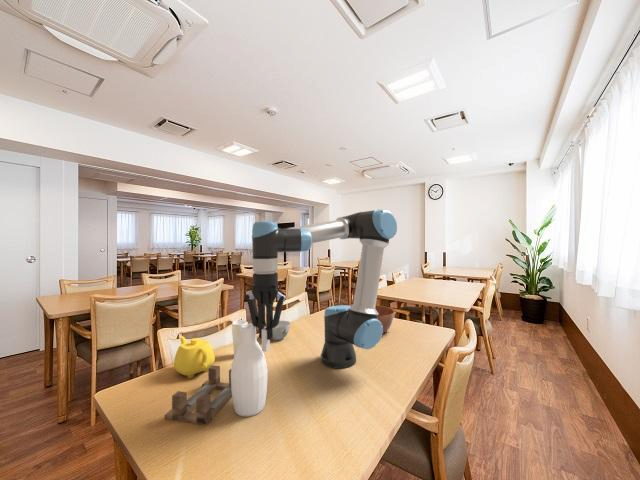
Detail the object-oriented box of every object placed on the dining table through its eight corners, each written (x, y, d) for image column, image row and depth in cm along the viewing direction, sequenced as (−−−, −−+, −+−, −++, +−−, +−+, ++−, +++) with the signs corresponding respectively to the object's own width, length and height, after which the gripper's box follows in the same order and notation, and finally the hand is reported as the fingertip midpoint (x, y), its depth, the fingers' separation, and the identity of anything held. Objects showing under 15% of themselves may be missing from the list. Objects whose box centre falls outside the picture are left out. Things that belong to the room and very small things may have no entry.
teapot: (188, 385, 97) (187, 350, 97) (163, 369, 109) (163, 338, 109) (222, 370, 108) (222, 338, 108) (196, 357, 120) (196, 329, 120)
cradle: (241, 388, 95) (241, 368, 95) (207, 425, 76) (207, 400, 76) (206, 383, 98) (206, 364, 98) (164, 418, 79) (164, 394, 79)
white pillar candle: (243, 359, 118) (243, 325, 118) (229, 358, 119) (229, 324, 119) (250, 353, 124) (250, 320, 124) (237, 352, 125) (236, 319, 125)
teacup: (295, 337, 143) (295, 322, 143) (277, 345, 134) (277, 328, 134) (276, 331, 153) (276, 317, 153) (258, 338, 143) (258, 323, 143)
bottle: (223, 417, 79) (222, 330, 79) (241, 396, 90) (240, 319, 90) (259, 421, 77) (259, 332, 77) (273, 398, 88) (272, 321, 88)
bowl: (400, 338, 141) (399, 316, 141) (352, 338, 142) (352, 316, 142) (388, 323, 166) (388, 304, 166) (348, 323, 167) (347, 305, 167)
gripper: (289, 271, 85) (290, 346, 85) (251, 270, 87) (251, 343, 87) (281, 274, 77) (281, 356, 77) (239, 273, 80) (240, 352, 80)
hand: (265, 349), depth 82 cm, fingers closed
